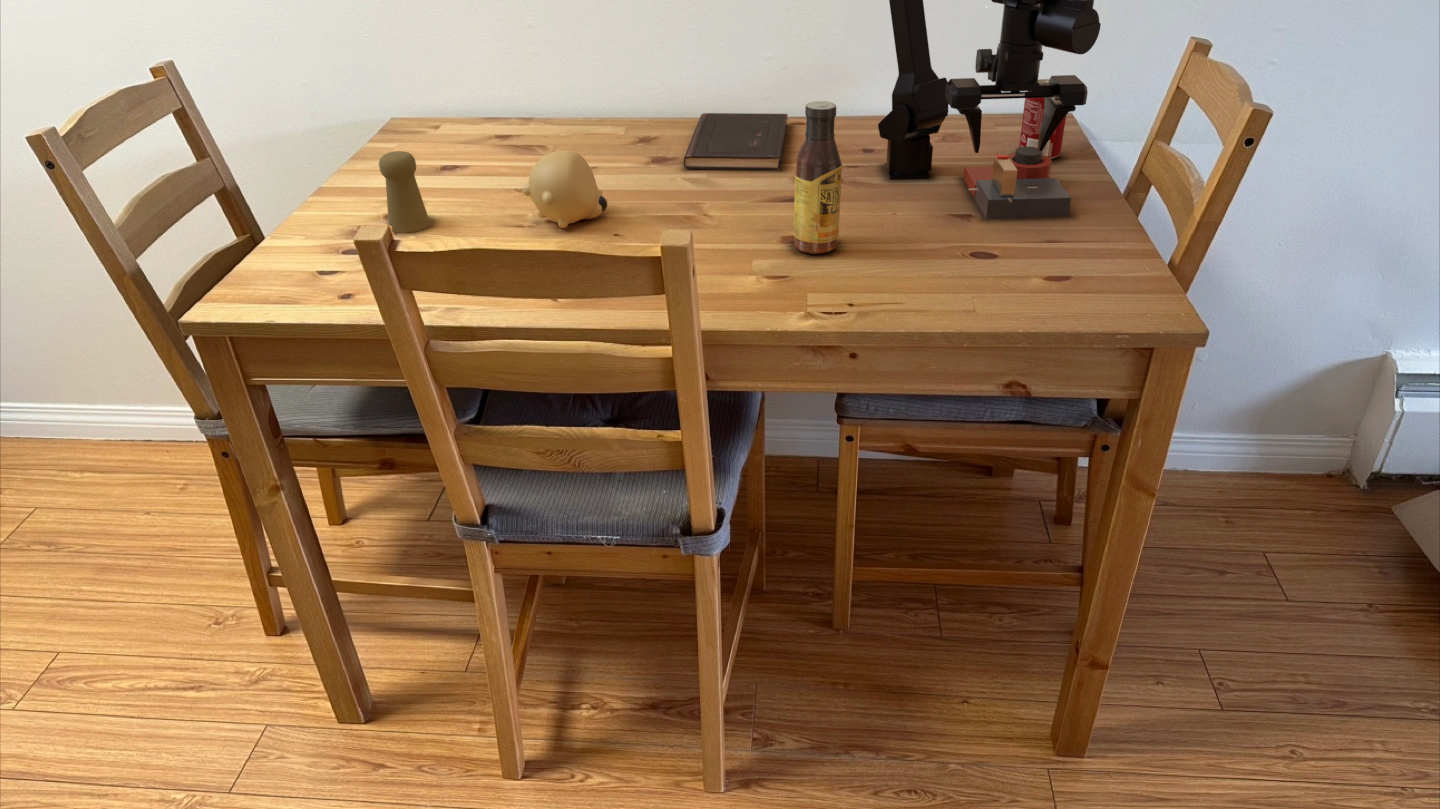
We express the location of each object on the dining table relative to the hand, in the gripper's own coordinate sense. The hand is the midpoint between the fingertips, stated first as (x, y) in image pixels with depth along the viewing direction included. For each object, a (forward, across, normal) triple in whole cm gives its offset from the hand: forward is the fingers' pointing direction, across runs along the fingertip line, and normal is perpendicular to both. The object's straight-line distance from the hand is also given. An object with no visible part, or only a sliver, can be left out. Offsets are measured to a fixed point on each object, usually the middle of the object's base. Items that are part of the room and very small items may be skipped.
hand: (1008, 151), depth 153 cm
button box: (+9, -3, -9) cm, 13 cm away
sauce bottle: (+9, +29, +12) cm, 32 cm away
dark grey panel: (+9, -2, 0) cm, 9 cm away
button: (+5, -6, -10) cm, 12 cm away
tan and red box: (+6, 0, 0) cm, 6 cm away
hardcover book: (+9, +39, -31) cm, 50 cm away
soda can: (+9, -11, -22) cm, 26 cm away
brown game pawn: (+9, +89, 0) cm, 89 cm away
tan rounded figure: (+9, +65, 0) cm, 65 cm away
